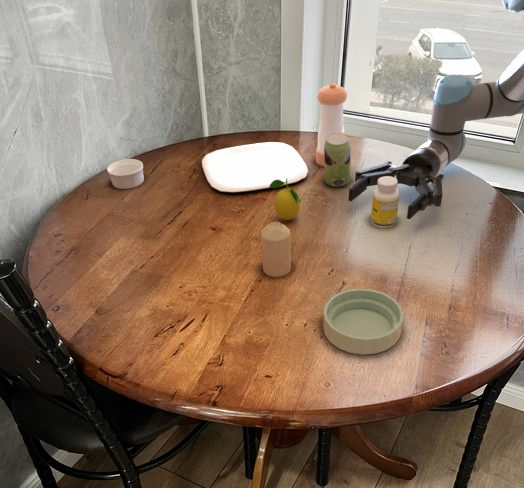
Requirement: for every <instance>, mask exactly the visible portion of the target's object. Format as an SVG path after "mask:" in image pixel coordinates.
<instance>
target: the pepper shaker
mask: <svg viewBox="0 0 524 488" xmlns="http://www.w3.org/2000/svg"><path fill="white" fill-rule="evenodd" d="M316 97H317V100H318V103H319V104H320V114H319V115H320V116H319V118H320V119H319V124H318V132H317V147H316V148H315V163H316V165H319V166H321V167H324V168H325V162H324V143H325V141H326V140H327V137H328V136H329V135H330V134H333V133H344V134H345V127H344V103H345V102H347V98H348V93H347V90H346V88H345V87H343V86H341V85H337V84H336V83H334V82H332V83H330V84H328V85H325V86H323V87H321V88H320V89H319V90H318V92H317V96H316Z"/></svg>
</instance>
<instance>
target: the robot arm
mask: <svg viewBox="0 0 524 488" xmlns="http://www.w3.org/2000/svg"><path fill="white" fill-rule="evenodd" d="M501 2H502V5H503V7H504V8H505V9H506V10H508V11H509V12H512V13H519V12H521V13H522V16H523V18H524V0H501ZM521 114H524V48H523V49H522V50H521V52H520V53H519V54H518V55H517V56H516V58H515V59H514V60H513V61H512V62H511V64H510V65H509V66H508V67H507V68H506V70H505V71H504V72H503V73H502V74H501V75H500V76H499V78H498V79H497V80H495V81H489V82H488V81H487V82H482V83H481V82H480V83H474V82H473V79H472V78H471V77H470V76H468V75H463V74H447V75H445V76H442V77H441V78H440V79H439V80H438V81H437V84H436V88H435V91H434V97H433V104H432V112H431V119H430V125H429V128H428V129H429V130H428V136H427V140H426V141H425V142H424V143H423V144H422V145H420V146H419V147H418V148H416V149H415V150H414V151H413V152H412V153H411V154H409V155H408V156H407V157H406V158H405V159H404V160H403V162H402V163H401V164H399V165H393V164H392V163H393V162H392V161H391V160H386V161H385V162H384V163H381V164H378V165H374V166H371V167H367V168H363V169H360V170H357V171H355V175H354V182H353V183H352V186H351V187H349V189H348V200H347V201H348V202H353V201H354V200H356V198H358V197H360V195H362V194H363V193H364V192H365V191H367V190H368V187H373V186H377V184H378V179H379V178H381V177H384V176H390V177H394V178H396V179H397V181H398V183H397V185H399V184H400V185H405V186H407V187H411V188H412V187H413V188H414V189H415V191H416V192H417V193H418V194H419V196H418V197H416V198H415V200H413V201H412V202H411V203H410V204H409V205H408V207H407V212H406V219H407V220H411V219H412V218H413V217H414V216H415V215H417V213H418V212H419V211H422V212H423V211H425V210H426V209H427V208H428V207H430V206H432V205H434V206H435V208H436V207H437V208H440V207H441V206H442V202H443V196H444V194H443V184H444V183H443V182H444V179H445V174H443V173H441V172H442V171H443V170H445V168H447V166H448V165H450V164H451V163H452V162H454V161H455V160H456V159H458V157H459V156H460V155H461V154H462V152H463V151H464V149H465V147H466V145H467V138H466V134H465V132H464V128H465V124H466V122H471V121H479V120H487V119H495V118H503V117H513V116H516V115H521ZM430 183H431V185H432V188H433V189H431V187H430V185H429V184H430Z"/></svg>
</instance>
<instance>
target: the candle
mask: <svg viewBox="0 0 524 488" xmlns="http://www.w3.org/2000/svg"><path fill="white" fill-rule="evenodd" d="M260 243H261V245H260V246H261V258H262V271H263V273H264V274H265V275H266V276H269V277H274V278H279V277H284V276H286V275H289V273H290V272H291V270H292V252H291V251H292V248H291V245H292V243H291V230H290V228H288V227H287V226H286V225H284V224H283V223H281V222H280V221H272V222H269V223H268V224H267V225H266V226H265V227H263V228H262V229H261V231H260Z"/></svg>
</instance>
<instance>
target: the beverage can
mask: <svg viewBox="0 0 524 488" xmlns="http://www.w3.org/2000/svg"><path fill="white" fill-rule="evenodd" d="M351 151H352V143H351V140H350V139H349V136H348V135H347V134H346V133H345V132H344V133H333V134H330V135H329V136H328V137H327V140H326V141H325V143H324V162H325V167H324V182H325V183H326V185H328V186H330V187H333V188H334V187H335V188H336V187H338V188H339V187H343V186H346V185H347V184H348V183H349V182H350V180H351V157H352V155H351Z"/></svg>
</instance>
